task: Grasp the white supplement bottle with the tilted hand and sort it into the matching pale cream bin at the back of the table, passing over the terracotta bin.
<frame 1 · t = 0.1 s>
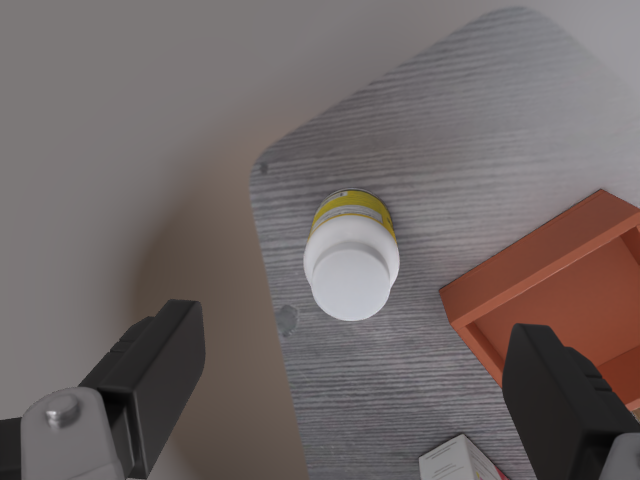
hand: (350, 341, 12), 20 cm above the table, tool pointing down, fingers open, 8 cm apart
terracotta bin: (560, 306, 32), on the table
supplement bottle: (353, 222, 32), on the table
ink box: (467, 472, 39), on the table
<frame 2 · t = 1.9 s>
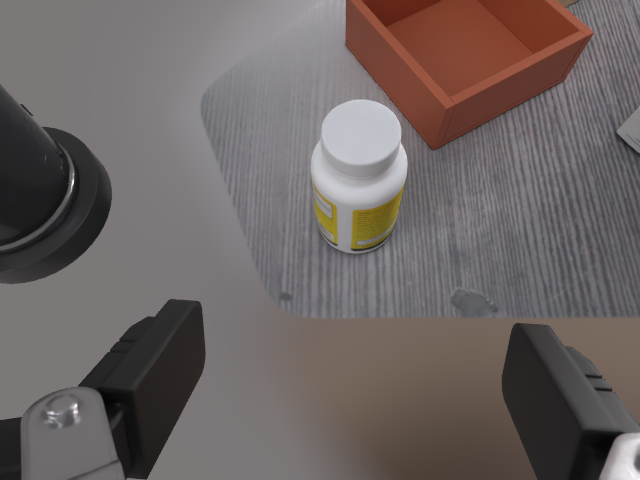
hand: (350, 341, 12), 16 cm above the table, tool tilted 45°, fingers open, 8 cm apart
terracotta bin: (451, 62, 36), on the table
supplement bottle: (355, 220, 31), on the table
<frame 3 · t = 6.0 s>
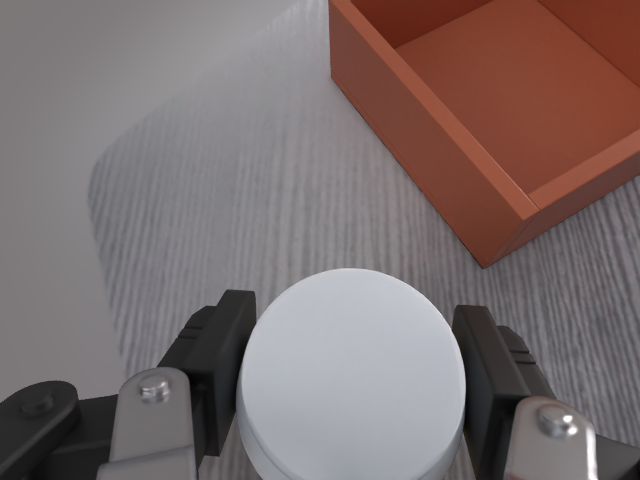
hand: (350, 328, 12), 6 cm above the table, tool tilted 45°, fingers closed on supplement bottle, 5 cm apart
terracotta bin: (503, 105, 22), on the table
supplement bottle: (346, 411, 17), on the table, touching gripper
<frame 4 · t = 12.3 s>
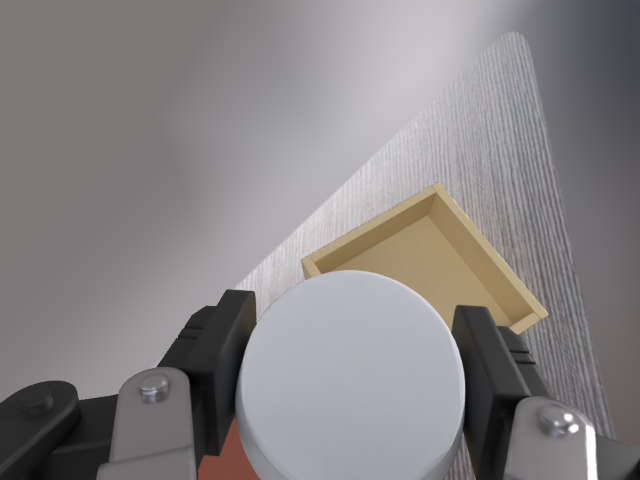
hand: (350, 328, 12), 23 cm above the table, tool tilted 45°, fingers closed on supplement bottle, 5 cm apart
cream bin: (411, 303, 36), on the table
supplement bottle: (346, 412, 17), point 17 cm above the table, touching gripper
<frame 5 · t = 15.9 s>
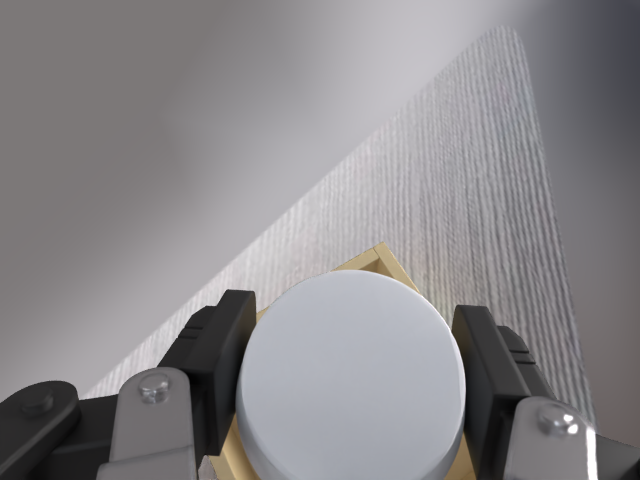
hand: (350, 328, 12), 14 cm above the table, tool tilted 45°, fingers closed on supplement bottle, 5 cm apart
cream bin: (344, 416, 25), on the table
supplement bottle: (346, 412, 17), point 8 cm above the table, touching gripper
when the fingers open (6 cm above the table, at t = 18.6 s): supplement bottle stays where it is, resting on cream bin.
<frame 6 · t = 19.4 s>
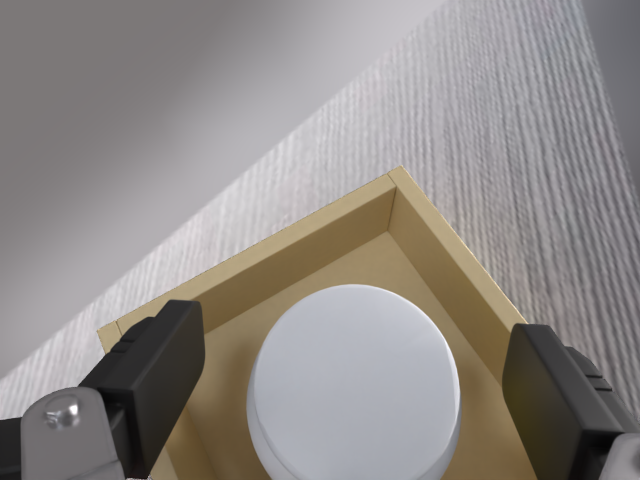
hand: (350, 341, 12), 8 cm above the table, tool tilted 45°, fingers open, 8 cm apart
cream bin: (348, 408, 18), on the table
supplement bottle: (350, 413, 18), resting on cream bin
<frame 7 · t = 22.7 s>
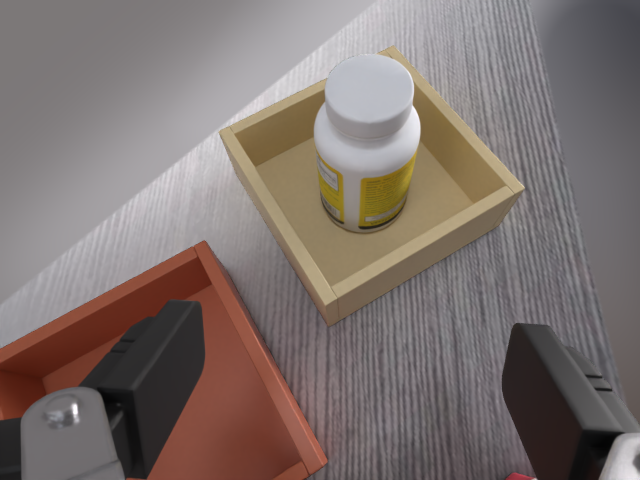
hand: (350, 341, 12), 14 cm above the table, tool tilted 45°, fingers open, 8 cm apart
cream bin: (361, 198, 30), on the table
terracotta bin: (172, 416, 25), on the table
supplement bottle: (362, 197, 29), resting on cream bin
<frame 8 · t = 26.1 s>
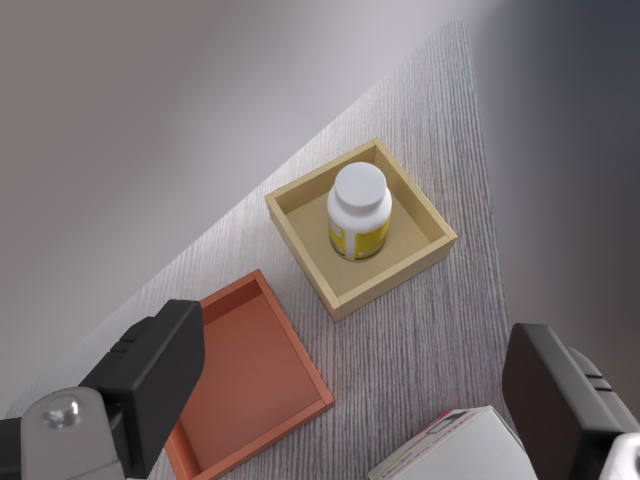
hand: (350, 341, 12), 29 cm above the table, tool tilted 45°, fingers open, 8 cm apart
cream bin: (356, 237, 44), on the table
terracotta bin: (237, 378, 39), on the table
supplement bottle: (357, 237, 44), resting on cream bin
ink box: (426, 469, 36), on the table
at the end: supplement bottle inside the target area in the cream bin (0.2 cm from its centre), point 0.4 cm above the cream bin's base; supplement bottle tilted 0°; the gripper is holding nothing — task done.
